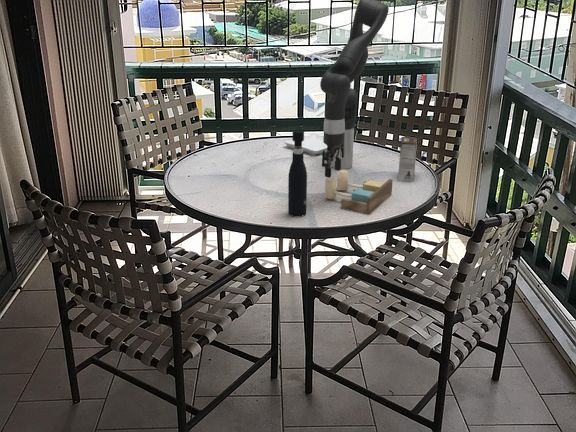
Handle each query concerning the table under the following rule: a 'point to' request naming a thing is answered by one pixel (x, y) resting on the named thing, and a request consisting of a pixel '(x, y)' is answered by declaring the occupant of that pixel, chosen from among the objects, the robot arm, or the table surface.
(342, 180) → the yellow peg toy
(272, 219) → the table surface
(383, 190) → the lane rack
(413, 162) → the coffee box
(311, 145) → the salad plate
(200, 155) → the table surface
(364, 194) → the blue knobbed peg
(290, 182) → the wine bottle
